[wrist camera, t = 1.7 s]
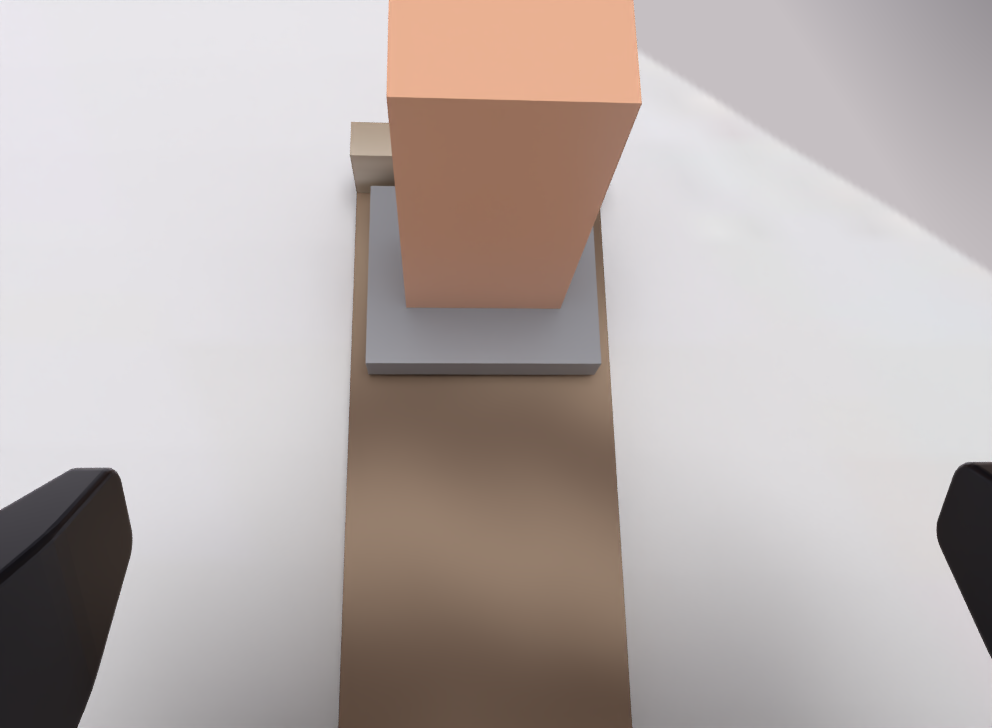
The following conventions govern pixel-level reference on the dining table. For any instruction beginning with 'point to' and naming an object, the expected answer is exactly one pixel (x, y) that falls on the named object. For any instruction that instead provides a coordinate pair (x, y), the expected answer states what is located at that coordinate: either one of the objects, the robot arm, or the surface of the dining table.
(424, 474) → the fader track
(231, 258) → the dining table surface
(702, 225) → the dining table surface
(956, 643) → the dining table surface
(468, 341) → the fader
